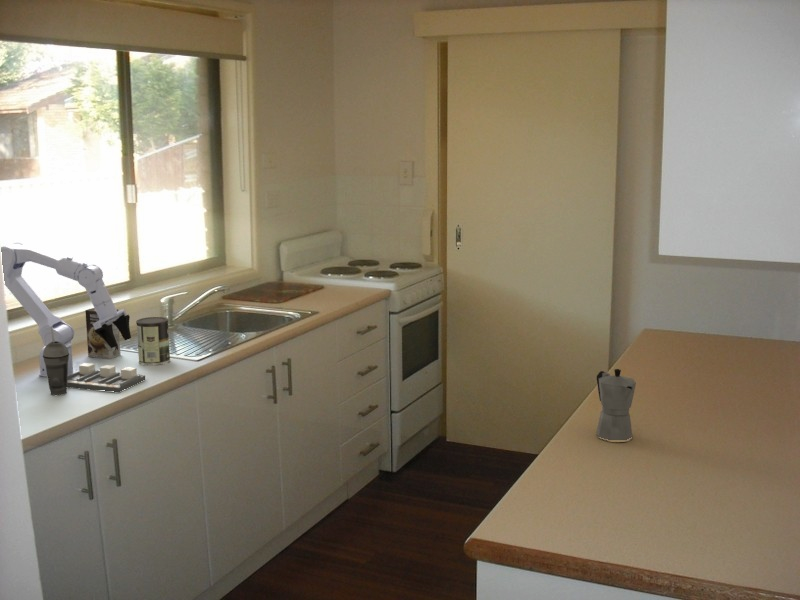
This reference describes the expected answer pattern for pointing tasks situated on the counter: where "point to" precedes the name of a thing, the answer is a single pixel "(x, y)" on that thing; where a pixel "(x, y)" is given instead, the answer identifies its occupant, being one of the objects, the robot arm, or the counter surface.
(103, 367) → the tab middle
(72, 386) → the switch panel
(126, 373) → the tab right
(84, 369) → the tab left
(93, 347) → the coffee box
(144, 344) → the coffee can
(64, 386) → the beverage cup
